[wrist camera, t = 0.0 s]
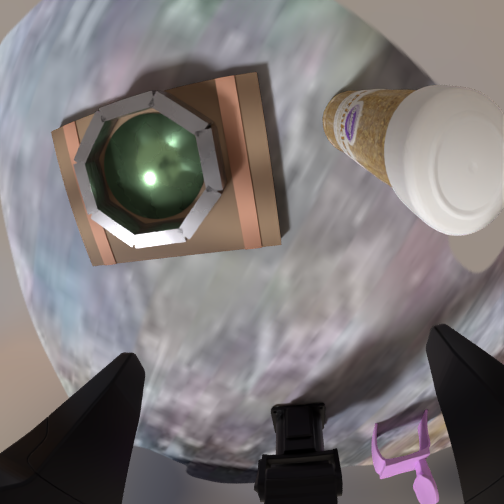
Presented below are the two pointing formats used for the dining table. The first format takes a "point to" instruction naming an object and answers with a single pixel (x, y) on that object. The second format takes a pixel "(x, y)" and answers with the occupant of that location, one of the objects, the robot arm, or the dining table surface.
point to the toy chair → (410, 465)
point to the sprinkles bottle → (427, 150)
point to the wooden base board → (233, 197)
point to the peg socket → (150, 168)
